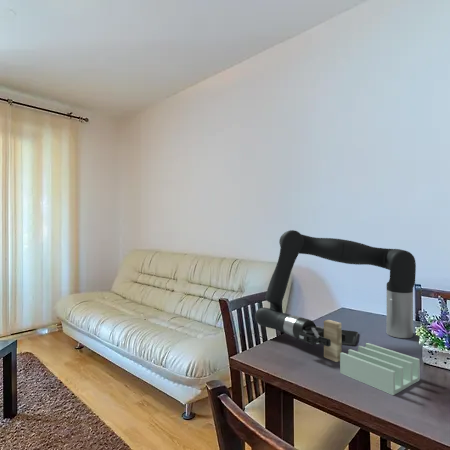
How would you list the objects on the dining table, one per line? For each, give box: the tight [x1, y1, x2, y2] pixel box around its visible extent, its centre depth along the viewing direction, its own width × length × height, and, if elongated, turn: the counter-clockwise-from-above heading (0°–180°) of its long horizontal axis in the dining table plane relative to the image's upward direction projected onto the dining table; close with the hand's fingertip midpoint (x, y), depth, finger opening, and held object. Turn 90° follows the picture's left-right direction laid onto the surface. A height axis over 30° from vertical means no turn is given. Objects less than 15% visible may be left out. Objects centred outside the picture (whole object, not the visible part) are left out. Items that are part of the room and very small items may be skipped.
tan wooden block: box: [323, 319, 343, 363], centre depth 113 cm, size 2×5×12 cm, turn 36°
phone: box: [341, 329, 359, 347], centre depth 132 cm, size 8×1×15 cm
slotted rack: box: [339, 342, 421, 396], centre depth 100 cm, size 14×16×6 cm
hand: (337, 340), depth 111 cm, fingers open, 7 cm apart
